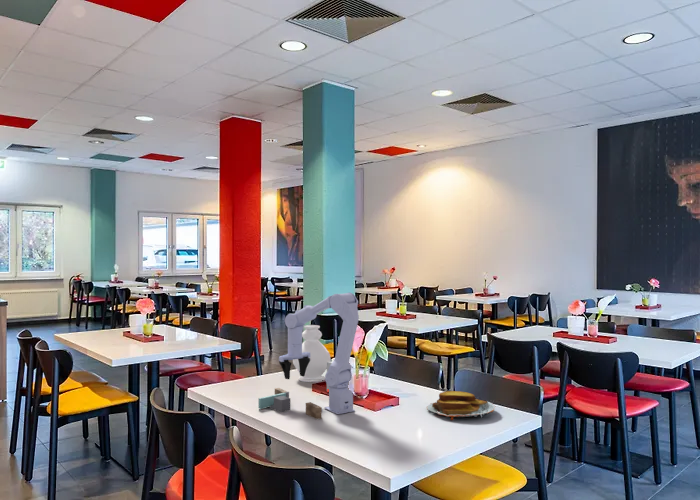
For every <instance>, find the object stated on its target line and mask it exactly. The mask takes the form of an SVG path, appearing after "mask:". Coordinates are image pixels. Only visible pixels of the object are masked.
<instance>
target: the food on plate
mask: <svg viewBox="0 0 700 500" xmlns="http://www.w3.org/2000/svg"><path fill="white" fill-rule="evenodd" d="M438 397H439V398H438V399H437V400H436V401H435V402H432V403H430V404H428V405H427V406H426V410H428V411H430V412H433V413H436V414H438V415H440V416H445V417H449V418H450V421H454V417H455V418H466V417H478V416H480V417H481V419H483V418H482V417H483V416H484V415H485V414H489V413H493V412H494V411H495V409H496V406H495V404H493V402H490V401H487V400H483V399H482V400H481V399H477V398H476V396H475V394H473V393H471V392H468V391H467V392H466V391H460V390H447V391H442V392H440V393H439V394H438Z"/></svg>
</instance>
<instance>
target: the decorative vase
mask: <svg viewBox="0 0 700 500" xmlns="http://www.w3.org/2000/svg"><path fill="white" fill-rule="evenodd" d="M320 328H321V326H320V325H317V324H308V325H304V326H303V329H305V330H303V331H302V339H304V341H302V352H310V357H308V358H310V362H309V364H308V366H307V368H306V372H305V376H300V375H299V377H298V381H300V382H303V383H317V382H318V383H319V382H322V380H323V381H324V380H325V376H324V375H323V374H324V373H325V372H326V371H327V362H332V360H331V358H332V357H331V354H330V352H329V351H328V349H327V348H326V346H325V345H324V344H323V343H322V342H321V341H320V339H321V338H322V336H323V333H322V331H320ZM292 364H293V366H294V368H295V369H296V370H297V371H298V373H299V374H300V366H299V361H298V359H294V360H292Z"/></svg>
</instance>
